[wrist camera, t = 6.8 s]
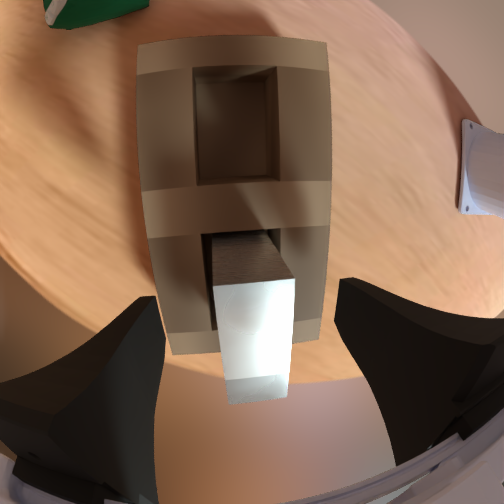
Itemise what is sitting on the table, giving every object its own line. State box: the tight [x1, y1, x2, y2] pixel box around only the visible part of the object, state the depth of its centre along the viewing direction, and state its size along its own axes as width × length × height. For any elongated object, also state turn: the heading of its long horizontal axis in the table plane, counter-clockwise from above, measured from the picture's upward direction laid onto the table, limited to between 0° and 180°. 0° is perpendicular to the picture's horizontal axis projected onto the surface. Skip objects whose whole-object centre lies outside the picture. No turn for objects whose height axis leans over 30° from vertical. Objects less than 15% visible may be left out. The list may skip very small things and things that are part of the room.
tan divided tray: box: [136, 35, 332, 355], centre depth 13 cm, size 8×15×4 cm, turn 1°
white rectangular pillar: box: [212, 229, 295, 404], centre depth 12 cm, size 2×6×7 cm, turn 1°
